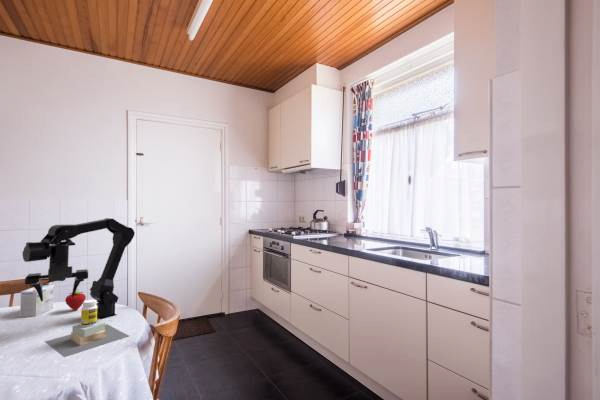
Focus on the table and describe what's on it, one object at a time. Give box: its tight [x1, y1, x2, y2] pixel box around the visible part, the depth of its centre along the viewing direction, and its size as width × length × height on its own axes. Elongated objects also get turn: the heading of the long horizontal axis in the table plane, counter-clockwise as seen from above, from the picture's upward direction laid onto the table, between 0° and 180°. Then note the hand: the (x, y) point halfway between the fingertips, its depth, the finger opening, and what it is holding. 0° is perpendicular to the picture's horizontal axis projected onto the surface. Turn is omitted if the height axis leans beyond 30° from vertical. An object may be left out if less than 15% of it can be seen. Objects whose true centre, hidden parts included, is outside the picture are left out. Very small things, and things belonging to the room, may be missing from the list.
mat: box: [44, 323, 130, 358], centre depth 111 cm, size 20×18×1 cm
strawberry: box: [65, 289, 87, 312], centre depth 140 cm, size 6×8×10 cm
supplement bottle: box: [80, 298, 98, 327], centre depth 111 cm, size 5×5×8 cm
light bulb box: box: [19, 284, 55, 317], centre depth 137 cm, size 11×7×11 cm, turn 5°
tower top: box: [71, 320, 106, 337], centre depth 111 cm, size 7×7×2 cm
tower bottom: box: [70, 330, 106, 346], centre depth 111 cm, size 8×8×2 cm
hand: (57, 299), depth 118 cm, fingers open, 9 cm apart
